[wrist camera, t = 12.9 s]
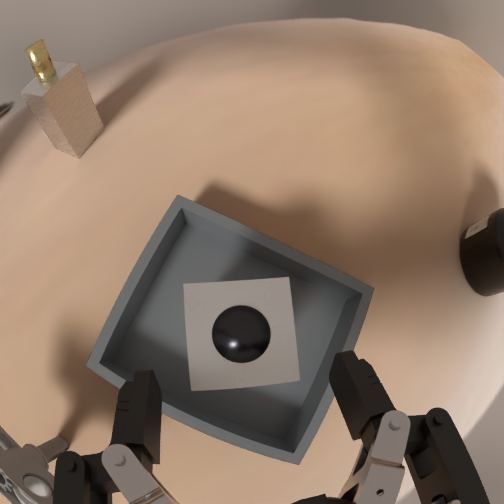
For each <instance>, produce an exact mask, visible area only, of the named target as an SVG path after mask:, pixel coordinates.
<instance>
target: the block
mask: <svg viewBox="0 0 504 504" xmlns="http://www.w3.org/2000/svg"><path fill="white" fill-rule="evenodd" d="M183 289H184V309H185V326H186V340H187V352H188V364H189V374H190V384H191V391H202V390H220V389H234V388H245V387H255V386H264V385H272V384H279V383H286V382H293V381H299V380H300V375H299V364H298V354H297V344H296V334H295V325H294V315H293V307H292V298H291V290H290V281H289V277H282V278H269V279H254V280H240V281H224V282H207V283H188V284H183Z"/></svg>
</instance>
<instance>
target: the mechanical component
mask: <svg viewBox="0 0 504 504" xmlns="http://www.w3.org/2000/svg"><path fill="white" fill-rule="evenodd" d="M67 447H68V443H67V441H66V440H65V439H64V438H63V437H60V436H58V437H55V438H53V439H51V440H49V441H47V442H45V443H43V444H41V445H39V446H37V447H36V446H34V445H32V444H25V445H24V446H23V448H21V447H20V446H19V445H18V444H17V443H16V442H15V441H14V440H13V439H12V438H11V437H10V436H9V435H8V434H7V433H6V432H5V430H4V429H3V428H2V427H1V426H0V493H1V494H2V495H4V496H5V497H6V498H7V499H8V500H9V501H10V502H11V503H12V504H53V489H54V477H55V476H53V475H52V474H51V473H50V472H48V468H49V465H48V463H49V462H51V461H52V460H54V459H56V458H57V457H58V456H59V455H60V454H61V453H63V452H65V449H66V448H67Z"/></svg>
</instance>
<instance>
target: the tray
mask: <svg viewBox="0 0 504 504" xmlns="http://www.w3.org/2000/svg"><path fill="white" fill-rule="evenodd" d="M282 277H289V281H290V290H291V298H292V307H293V315H294V325H295V334H296V344H297V354H298V364H299V375H300V380H299V381H293V382H286V383H279V384H272V385H264V386H255V387H245V388H234V389H220V390H202V391H191V384H190V374H189V364H188V352H187V340H186V326H185V309H184V289H183V284H188V283H207V282H224V281H240V280H254V279H269V278H282ZM373 291H374V288H373V287H371V286H369V285H367V284H365V283H363V282H361V281H359V280H357V279H355V278H353V277H351V276H349V275H347V274H345V273H343V272H341V271H339V270H337V269H335V268H333V267H331V266H329V265H327V264H325V263H323V262H321V261H319V260H317V259H315V258H313V257H311V256H309V255H306V254H304V253H302V252H300V251H298V250H296V249H294V248H292V247H290V246H288V245H286V244H284V243H281V242H279V241H277V240H275V239H273V238H271V237H269V236H267V235H265V234H263V233H260V232H258V231H256V230H254V229H252V228H250V227H248V226H245V225H243V224H241V223H239V222H237V221H235V220H233V219H230V218H228V217H226V216H224V215H222V214H220V213H217V212H215V211H213V210H211V209H209V208H206V207H204V206H202V205H200V204H198V203H196V202H193V201H191V200H189V199H187V198H184V197H182V196H180V195H177V196H176V198H175V199H174V201H173V202H172V204H171V205H170V207H169V209H168V210H167V212H166V213H165V215H164V217H163V218H162V220H161V222H160V223H159V225H158V226H157V228H156V230H155V231H154V233H153V235H152V236H151V238H150V240H149V242H148V243H147V245H146V247H145V248H144V250H143V252H142V254H141V255H140V257H139V259H138V261H137V263H136V264H135V266H134V268H133V270H132V272H131V273H130V275H129V277H128V279H127V281H126V283H125V285H124V287H123V288H122V290H121V292H120V294H119V296H118V298H117V300H116V302H115V304H114V306H113V308H112V310H111V312H110V314H109V316H108V318H107V320H106V322H105V325H104V327H103V329H102V331H101V333H100V335H99V337H98V340H97V342H96V344H95V346H94V349H93V351H92V353H91V355H90V358H89V360H88V362H87V365H86V367H88V368H89V369H90V370H92V371H93V372H95V373H96V374H98V375H99V376H101V377H102V378H103V379H105V380H106V381H108V382H110V383H111V384H113V385H114V386H116V387H117V388H119V389H121V387H122V386H123V384H124V383H125V381H133V379H134V373H135V370H137V369H138V370H153V371H154V373H155V376H156V378H157V381H158V384H159V386H160V389H161V393H162V412H161V413H163V414H165V415H166V416H168V417H170V418H172V419H174V420H176V421H179V422H181V423H183V424H185V425H187V426H189V427H191V428H193V429H196V430H198V431H200V432H203V433H205V434H207V435H210V436H212V437H214V438H217V439H219V440H222V441H224V442H227V443H230V444H232V445H235V446H238V447H241V448H243V449H246V450H249V451H252V452H255V453H258V454H261V455H264V456H268V457H271V458H274V459H278V460H281V461H285V462H289V463H293V464H297V465H299V464H300V462H301V461H302V459H303V457H304V455H305V453H306V452H307V450H308V448H309V446H310V444H311V442H312V441H313V439H314V437H315V435H316V433H317V431H318V429H319V427H320V425H321V423H322V421H323V419H324V417H325V415H326V413H327V411H328V409H329V407H330V404H331V402H332V400H333V398H334V396H335V395H334V393H333V390H332V388H331V385H330V382H329V372H330V369H331V366H332V363H333V360H334V357H335V354H336V353H339V352H344V351H349V350H354V347H355V345H356V342H357V339H358V337H359V334H360V331H361V328H362V325H363V322H364V320H365V317H366V314H367V311H368V307H369V304H370V301H371V298H372V295H373Z"/></svg>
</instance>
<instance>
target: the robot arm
mask: <svg viewBox="0 0 504 504" xmlns="http://www.w3.org/2000/svg"><path fill="white" fill-rule="evenodd" d="M376 375H377V374H376V373H375V371H374V369H373V367H372V366H371V365H370V364H369V363H368V362H367V361H365V360H364V359H360V360H358V358H357V356H356V354H355V353H354V351H353V350H349V351H344V352H339V353H336V354H335V357H334V360H333V363H332V366H331V369H330V372H329V382H330V385H331V388H332V390H333V393H334V395H335V397H336V400H337V402H338V405H339V407H340V410H341V412H342V414H343V417H344V419H345V422H346V424H347V427H348V429H349V432H350V434H351V437H352V439H353V441H354V440H357V439H360V438H361V440H362V442H363V443H362V445H361V448H360V451H359V454H358V456H357V459H356V461H355V464H354V467H353V469H352V472H351V474H350V476H349V478H348V480H347V482H346V483H345V485H344V486H343V488H342V490H341V492H340V494H339V496H338V498H335V497H326V495H325V494H322V495H318V496H314V497H310V498H306V499H302V500H299V501H297V502H294V503H292V504H395V502H396V499H397V496H398V493H399V490H400V486H401V483H402V480H403V476H404V472H405V467H404V466H402V461H403V457H404V458H405V460H406V463H407V465H408V468H409V471H410V473H411V476H412V479H413V481H414V484H415V487H416V490H417V492H418V495H419V498H420V501H421V504H490V503H489V500H488V498H487V495H486V492H485V490H484V487H483V485H482V482H481V480H480V477H479V475H478V473H477V470H476V468H475V466H474V464H473V462H472V459H471V457H470V455H469V453H468V451H467V449H466V447H465V445H464V442H463V440H462V438H461V436H460V434H459V432H458V430H457V428H456V426H455V425H454V423H453V421H452V419H451V417H450V415H449V413H448V412H447V411H446V410H444V409H442V408H433V409H431V410H430V411H429V412H428V413H427V414H426V415H416V416H407V415H406V414H405V413H403V412H401V411H397V410H396V409H395V407H394V405H393V404H392V402H391V400H390V398H389V396H388V394H387V393H386V391H385V389H384V387H383V385H382V383H380V380H379V378H378V376H376ZM161 412H162V393H161V389H160V386H159V384H158V381H157V378H156V376H155V373H154V371H153V370H138V369H137V370H135V373H134V379H133V381H125V383H124V384H123V386H122V387H121V389H120V390H119V395H118V403H117V407H116V412H115V418H114V425H113V432H112V439H111V442H110V444H109V446H108V447H107V448H106V449H105V450H104V451H102V452H100V453H97V454H91V455H84V456H80V455H79V454H77V453H76V452H73V451H65V452H63V453H61V454H60V455H59V456H58V458H57V460H56V467H55V477H54V489H53V504H112V493H115V492H122V494H123V495H124V497H125V498H126V499H127V501H128V502H129V504H180V503H179V502H178V501H177V500H176V499H175V498H174V497H173V496H172V495H171V494H170V493H169V492H168V491H167V490H166V488H165V487H164V486H163V485H162V484H161V483H160V481H159V480H158V479H157V478H156V477H155V475H154V474H153V473H152V466H153V464H160V433H161Z"/></svg>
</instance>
